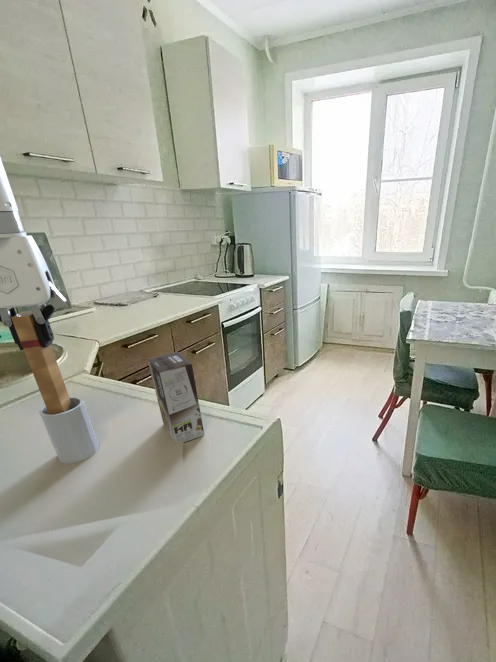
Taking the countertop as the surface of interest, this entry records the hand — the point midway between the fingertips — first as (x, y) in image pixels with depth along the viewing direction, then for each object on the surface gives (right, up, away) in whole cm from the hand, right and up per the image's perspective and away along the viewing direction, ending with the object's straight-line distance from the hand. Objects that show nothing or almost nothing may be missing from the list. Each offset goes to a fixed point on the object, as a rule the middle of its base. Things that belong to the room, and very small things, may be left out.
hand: (36, 345), depth 59 cm
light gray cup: (+1, -20, +10) cm, 23 cm away
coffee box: (+20, -17, +16) cm, 31 cm away
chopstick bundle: (0, -11, +6) cm, 13 cm away
